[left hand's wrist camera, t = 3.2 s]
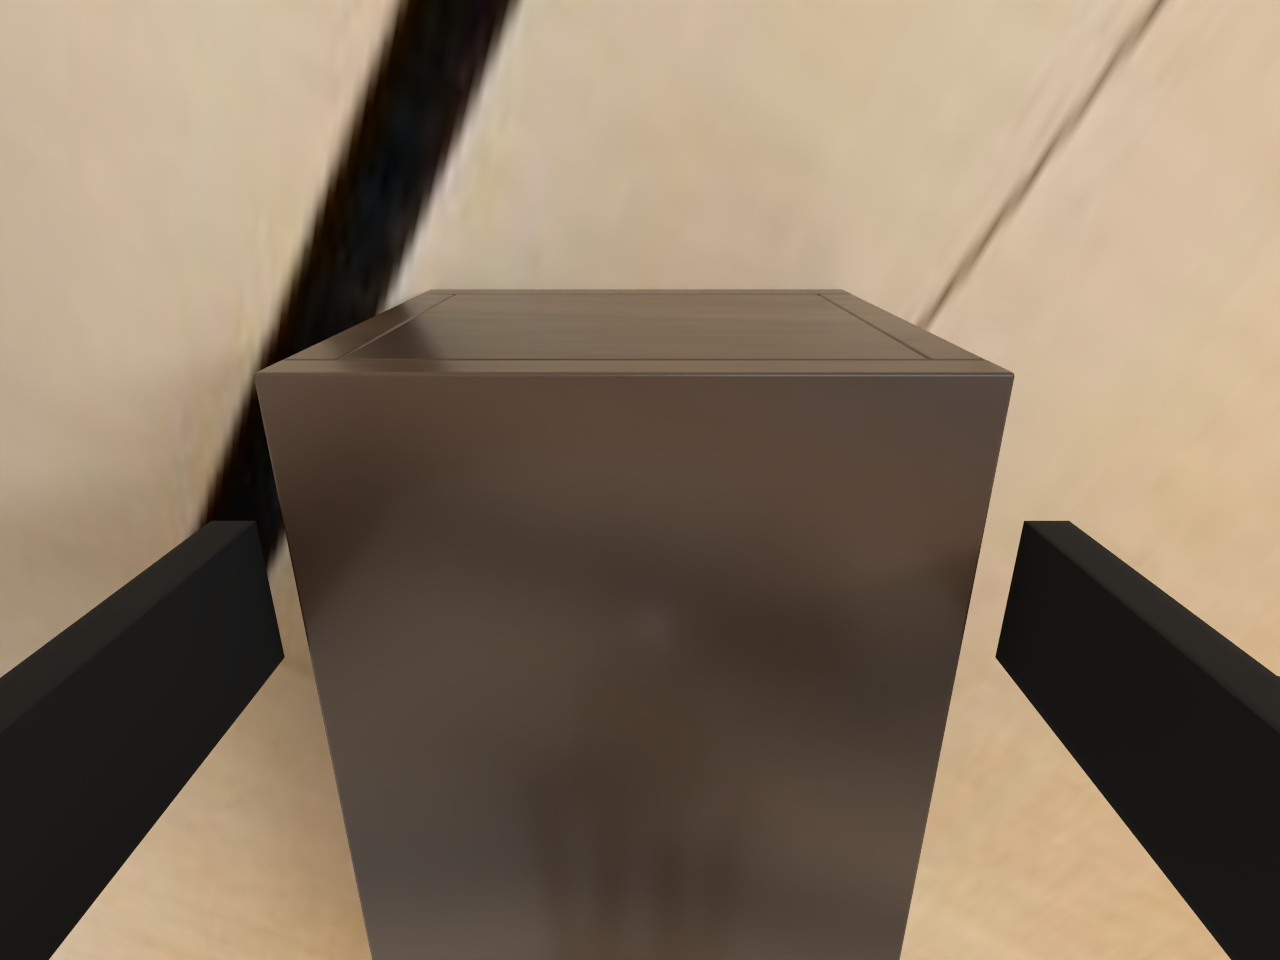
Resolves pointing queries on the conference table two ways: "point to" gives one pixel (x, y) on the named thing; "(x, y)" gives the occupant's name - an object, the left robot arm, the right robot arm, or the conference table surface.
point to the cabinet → (634, 613)
